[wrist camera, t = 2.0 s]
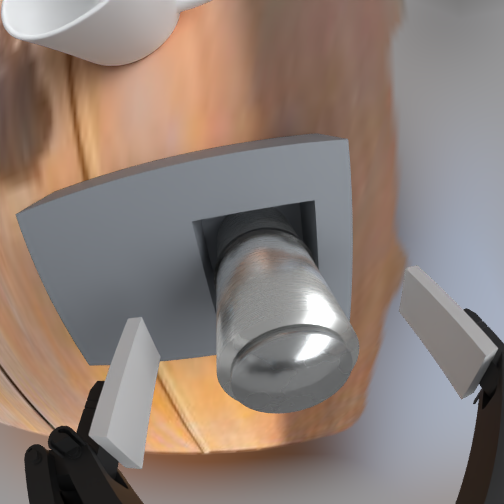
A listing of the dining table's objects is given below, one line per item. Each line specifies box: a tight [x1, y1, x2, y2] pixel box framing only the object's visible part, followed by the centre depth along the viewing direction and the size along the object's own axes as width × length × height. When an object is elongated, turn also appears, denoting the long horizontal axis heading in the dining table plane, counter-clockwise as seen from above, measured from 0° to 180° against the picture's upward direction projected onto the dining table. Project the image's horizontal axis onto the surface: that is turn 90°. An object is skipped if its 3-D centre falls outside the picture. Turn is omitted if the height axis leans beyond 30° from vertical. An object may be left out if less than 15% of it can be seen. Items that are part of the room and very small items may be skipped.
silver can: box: [214, 207, 359, 413], centre depth 16 cm, size 6×6×13 cm
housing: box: [16, 134, 353, 365], centre depth 21 cm, size 22×14×6 cm, turn 98°
